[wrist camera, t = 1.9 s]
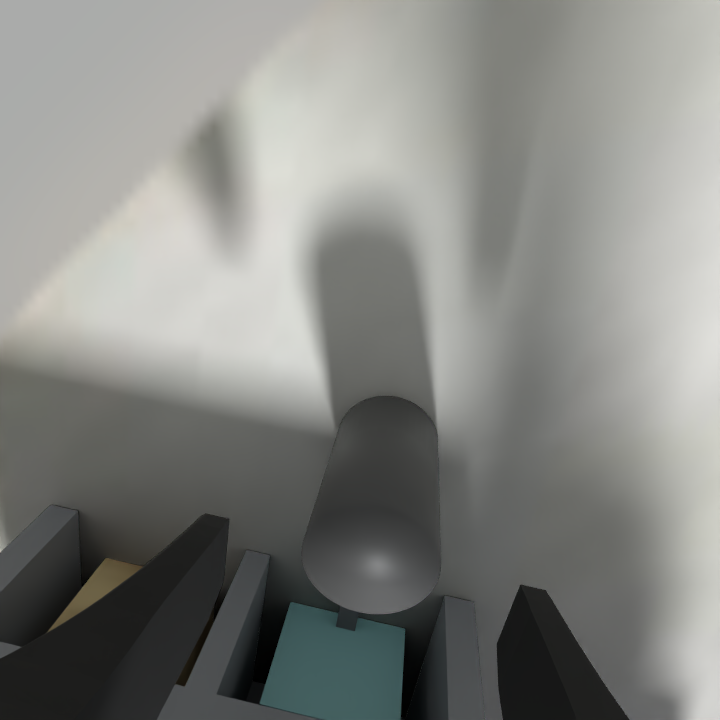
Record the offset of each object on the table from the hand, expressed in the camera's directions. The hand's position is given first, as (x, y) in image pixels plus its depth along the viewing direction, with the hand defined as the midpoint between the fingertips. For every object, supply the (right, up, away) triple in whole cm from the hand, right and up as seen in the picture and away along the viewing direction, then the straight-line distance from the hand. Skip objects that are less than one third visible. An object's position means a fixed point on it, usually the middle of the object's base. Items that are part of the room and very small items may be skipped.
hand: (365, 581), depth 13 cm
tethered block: (0, -3, +9) cm, 9 cm away
